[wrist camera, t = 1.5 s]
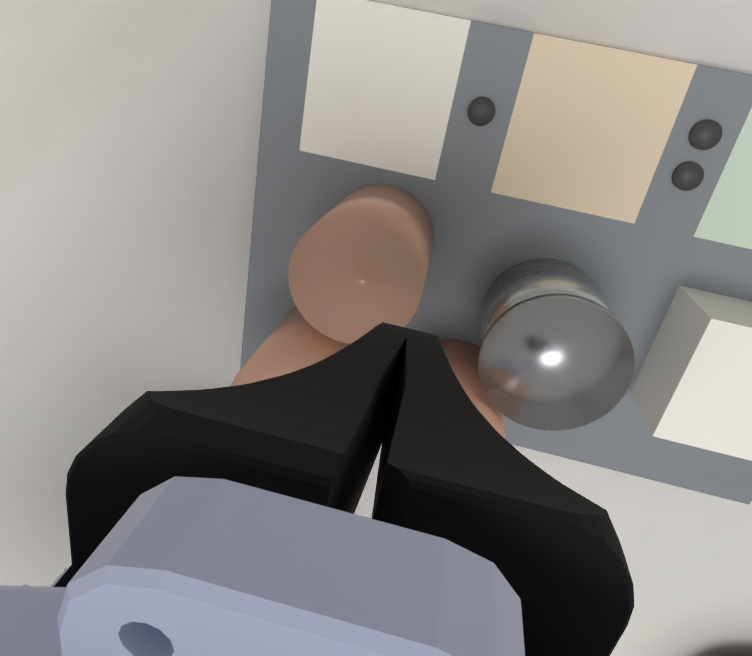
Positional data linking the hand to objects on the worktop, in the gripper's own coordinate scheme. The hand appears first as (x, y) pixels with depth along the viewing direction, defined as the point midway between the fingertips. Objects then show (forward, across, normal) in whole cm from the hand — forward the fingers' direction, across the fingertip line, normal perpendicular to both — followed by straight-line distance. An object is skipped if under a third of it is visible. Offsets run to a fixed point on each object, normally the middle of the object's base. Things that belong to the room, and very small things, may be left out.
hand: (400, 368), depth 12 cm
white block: (+9, -11, +2) cm, 14 cm away
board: (+10, -4, 0) cm, 11 cm away
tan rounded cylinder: (+9, +2, 0) cm, 10 cm away
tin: (+9, -4, +2) cm, 10 cm away
